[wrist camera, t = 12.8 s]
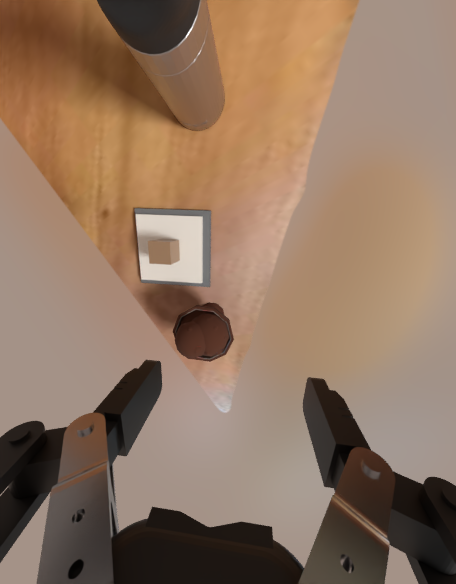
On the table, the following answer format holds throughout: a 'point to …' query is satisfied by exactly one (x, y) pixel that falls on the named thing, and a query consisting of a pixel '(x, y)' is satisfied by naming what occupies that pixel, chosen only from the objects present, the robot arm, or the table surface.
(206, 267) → the mat
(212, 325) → the ice cream bowl
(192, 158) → the table surface
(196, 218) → the lid
